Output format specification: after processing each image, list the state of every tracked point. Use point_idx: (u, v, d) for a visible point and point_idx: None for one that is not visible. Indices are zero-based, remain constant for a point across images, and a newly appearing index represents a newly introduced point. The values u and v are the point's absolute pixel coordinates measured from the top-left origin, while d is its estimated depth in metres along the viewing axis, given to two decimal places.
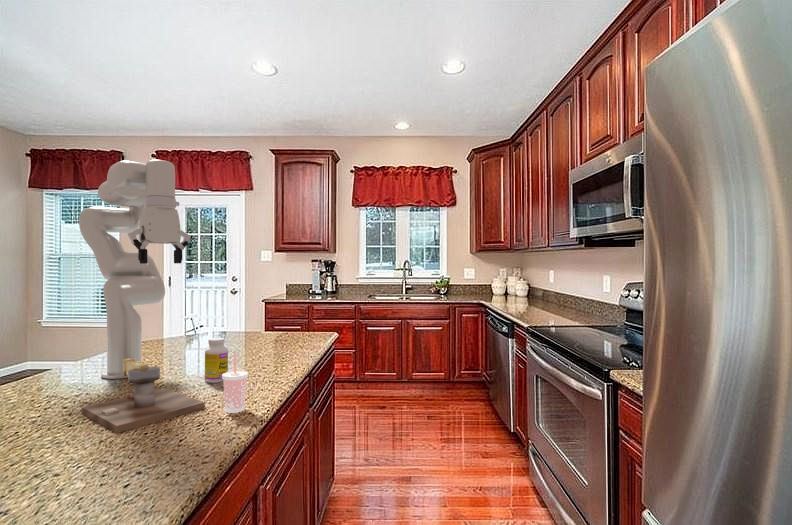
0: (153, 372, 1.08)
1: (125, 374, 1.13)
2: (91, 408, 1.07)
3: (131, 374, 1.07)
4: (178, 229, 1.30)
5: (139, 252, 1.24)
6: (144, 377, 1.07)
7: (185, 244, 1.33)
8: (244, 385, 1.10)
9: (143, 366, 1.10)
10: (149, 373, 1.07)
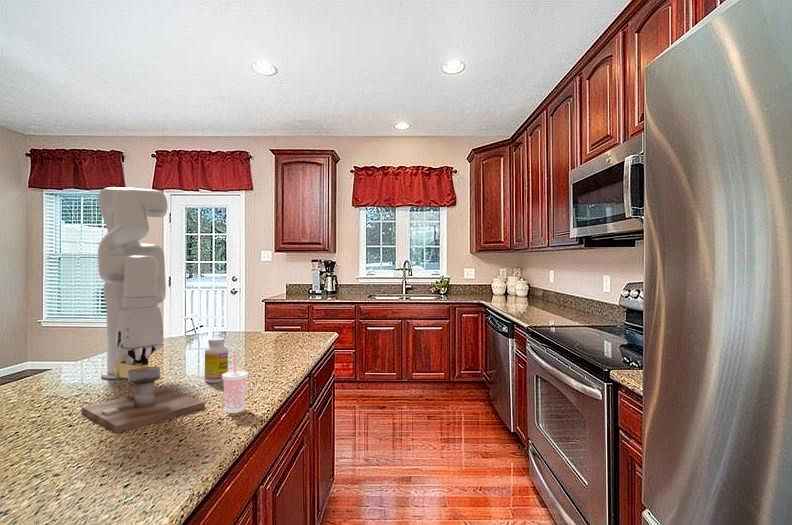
0: (156, 371, 1.09)
1: (118, 376, 1.12)
2: (91, 408, 1.07)
3: (134, 374, 1.06)
4: (160, 329, 1.17)
5: (134, 362, 1.14)
6: (148, 376, 1.07)
7: (152, 351, 1.17)
8: (244, 385, 1.10)
9: (143, 366, 1.09)
10: (152, 372, 1.08)
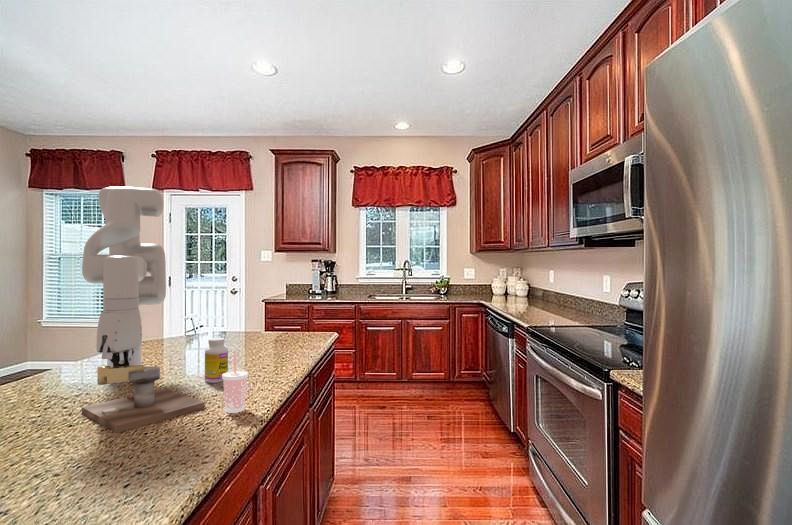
0: (159, 369, 1.11)
1: (106, 382, 1.06)
2: (91, 408, 1.07)
3: (146, 374, 1.07)
4: (140, 331, 1.14)
5: None
6: (157, 374, 1.10)
7: None
8: (244, 385, 1.10)
9: (143, 366, 1.09)
10: (159, 370, 1.11)
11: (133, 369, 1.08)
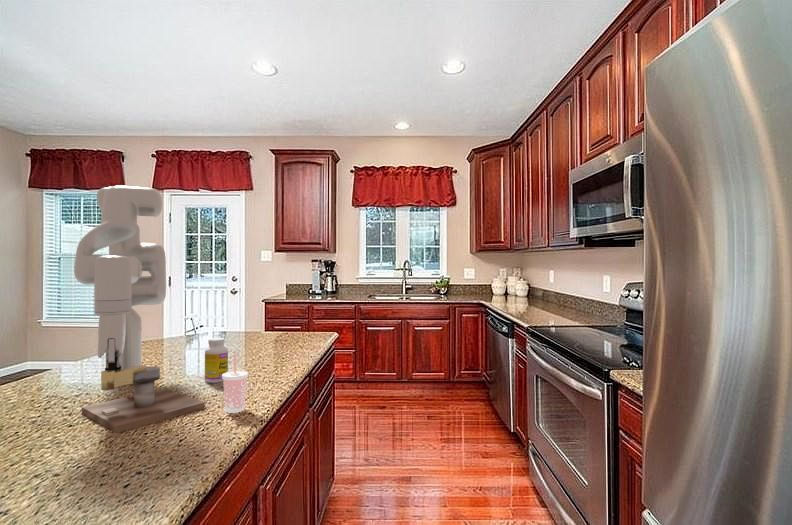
0: None
1: (113, 387, 1.02)
2: (91, 408, 1.07)
3: (155, 372, 1.09)
4: None
5: None
6: None
7: None
8: (244, 385, 1.10)
9: None
10: None
11: (137, 370, 1.07)
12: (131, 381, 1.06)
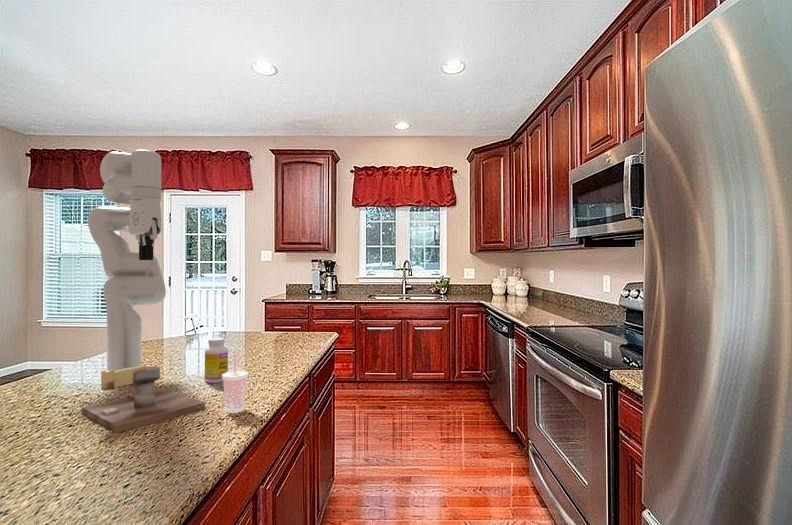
0: None
1: (113, 387, 1.02)
2: (91, 408, 1.07)
3: (155, 372, 1.09)
4: None
5: (147, 249, 1.25)
6: None
7: None
8: (244, 385, 1.10)
9: None
10: None
11: (137, 370, 1.07)
12: (131, 381, 1.06)
